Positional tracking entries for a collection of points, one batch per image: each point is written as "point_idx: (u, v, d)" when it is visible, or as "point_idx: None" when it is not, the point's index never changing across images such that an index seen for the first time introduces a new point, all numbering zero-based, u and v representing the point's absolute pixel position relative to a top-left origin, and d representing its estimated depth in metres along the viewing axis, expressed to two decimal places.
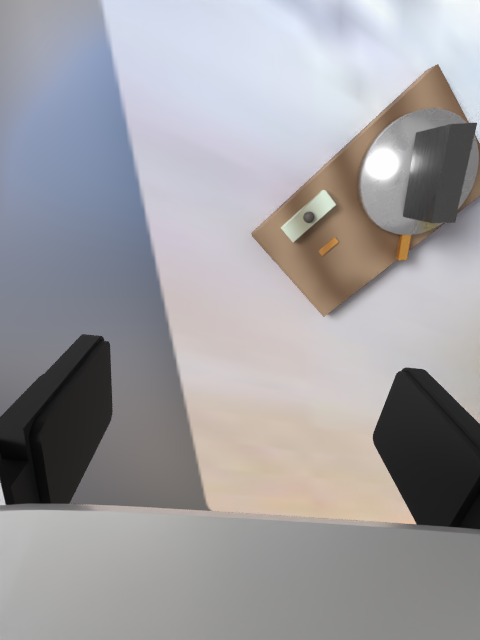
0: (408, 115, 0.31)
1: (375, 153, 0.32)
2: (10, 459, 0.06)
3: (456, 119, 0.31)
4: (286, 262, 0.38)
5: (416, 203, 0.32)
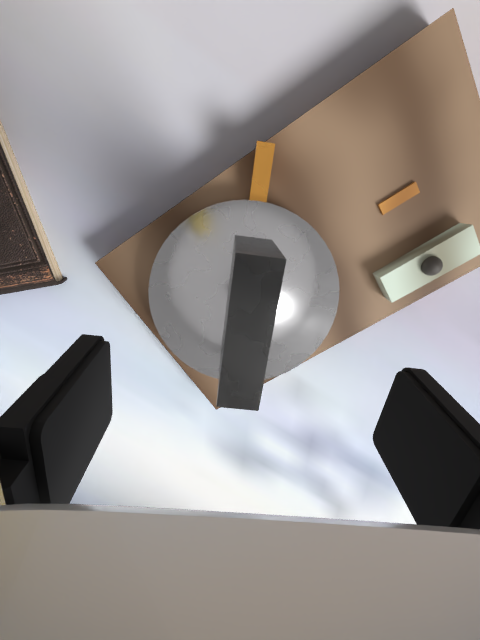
0: (263, 378, 0.22)
1: (312, 342, 0.21)
2: (10, 459, 0.06)
3: (195, 364, 0.22)
4: None
5: None
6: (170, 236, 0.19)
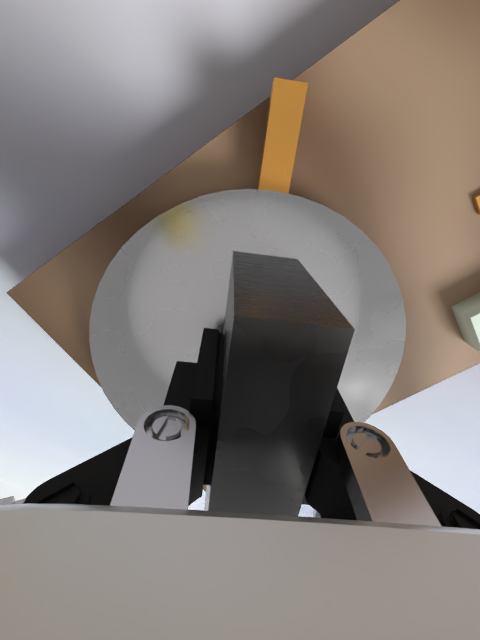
0: None
1: (355, 415, 0.14)
2: (195, 426, 0.07)
3: None
4: None
5: None
6: (120, 253, 0.11)
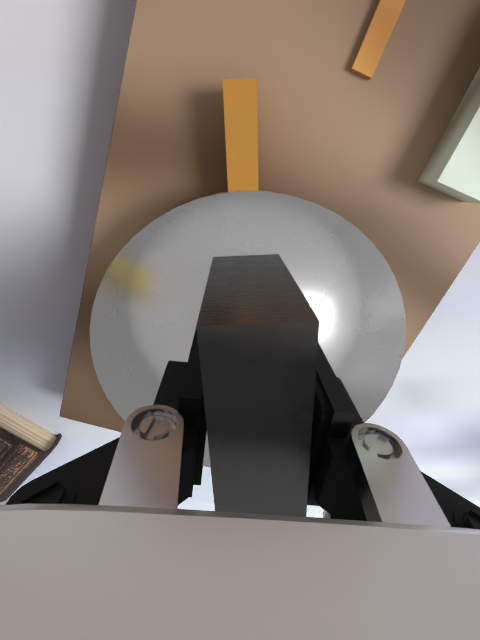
0: None
1: (368, 401, 0.13)
2: (184, 425, 0.07)
3: None
4: None
5: None
6: (106, 277, 0.11)
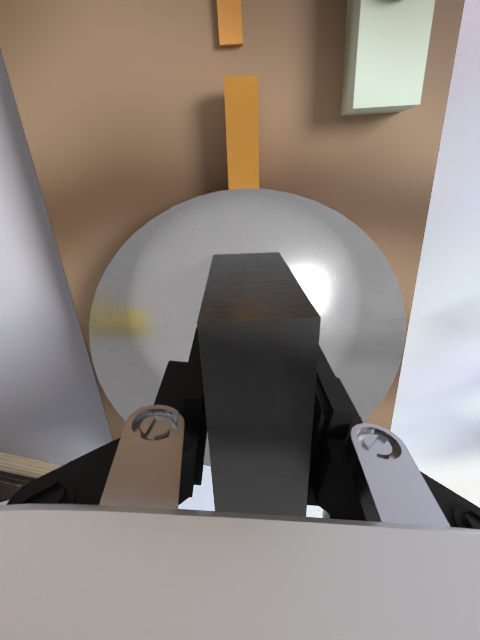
0: None
1: (367, 400, 0.13)
2: (185, 425, 0.07)
3: None
4: None
5: None
6: (105, 275, 0.11)
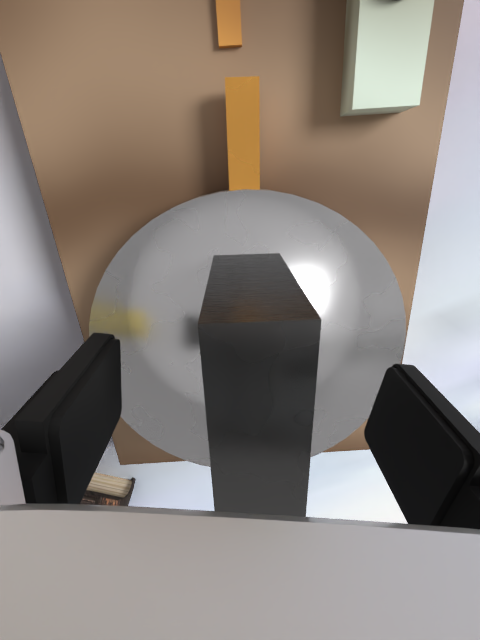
0: None
1: (367, 401, 0.13)
2: (29, 452, 0.06)
3: (190, 455, 0.14)
4: None
5: None
6: (106, 275, 0.11)
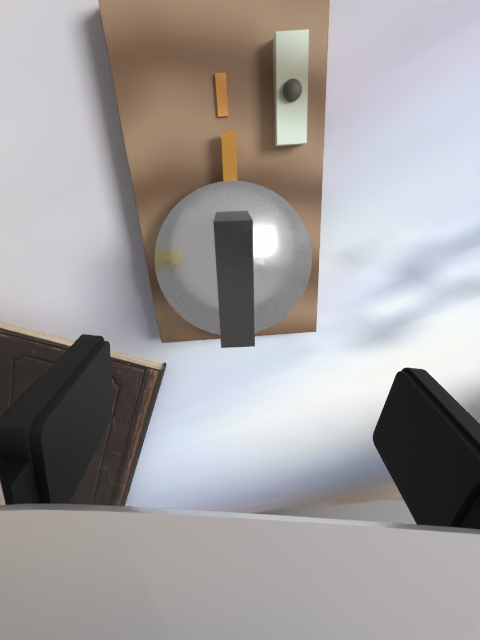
0: (261, 329, 0.27)
1: (296, 292, 0.25)
2: (10, 459, 0.06)
3: (203, 326, 0.26)
4: None
5: None
6: (165, 221, 0.23)
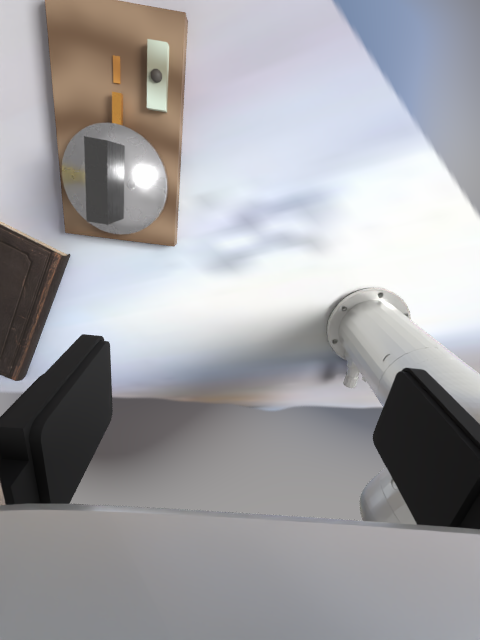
0: (131, 232, 0.40)
1: (155, 209, 0.39)
2: (10, 459, 0.06)
3: (92, 221, 0.39)
4: (134, 16, 0.33)
5: (117, 159, 0.34)
6: (70, 141, 0.36)
